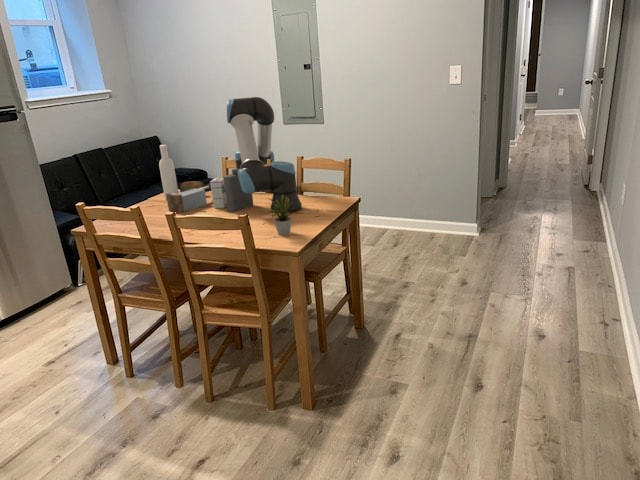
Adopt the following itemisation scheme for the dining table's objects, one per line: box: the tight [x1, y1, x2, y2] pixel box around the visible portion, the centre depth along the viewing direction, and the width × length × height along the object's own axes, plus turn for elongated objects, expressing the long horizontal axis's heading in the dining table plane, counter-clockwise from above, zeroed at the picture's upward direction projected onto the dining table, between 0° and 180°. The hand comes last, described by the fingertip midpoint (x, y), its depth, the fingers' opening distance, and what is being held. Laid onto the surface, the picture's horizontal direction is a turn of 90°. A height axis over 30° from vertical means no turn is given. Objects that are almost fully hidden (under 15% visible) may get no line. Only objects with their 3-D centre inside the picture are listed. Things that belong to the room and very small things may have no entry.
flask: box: [222, 168, 254, 213], centre depth 251 cm, size 15×6×20 cm, turn 135°
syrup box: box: [209, 177, 227, 209], centre depth 257 cm, size 6×6×14 cm
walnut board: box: [166, 193, 185, 214], centre depth 256 cm, size 10×2×9 cm, turn 53°
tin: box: [179, 180, 205, 193], centre depth 286 cm, size 15×3×8 cm, turn 76°
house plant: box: [265, 195, 296, 236], centre depth 210 cm, size 14×14×16 cm
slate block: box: [177, 189, 208, 213], centre depth 262 cm, size 8×15×8 cm, turn 143°
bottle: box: [158, 144, 180, 201], centre depth 280 cm, size 8×8×30 cm
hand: (199, 191), depth 267 cm, fingers closed
